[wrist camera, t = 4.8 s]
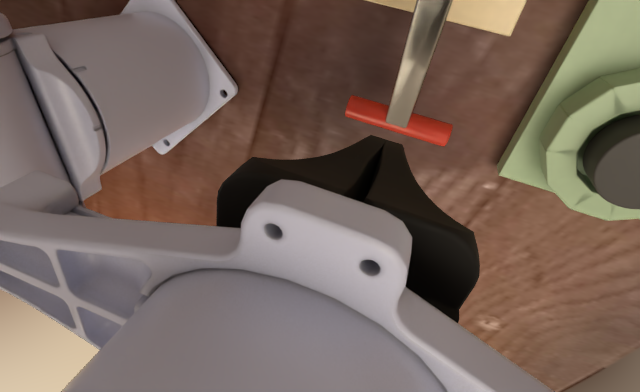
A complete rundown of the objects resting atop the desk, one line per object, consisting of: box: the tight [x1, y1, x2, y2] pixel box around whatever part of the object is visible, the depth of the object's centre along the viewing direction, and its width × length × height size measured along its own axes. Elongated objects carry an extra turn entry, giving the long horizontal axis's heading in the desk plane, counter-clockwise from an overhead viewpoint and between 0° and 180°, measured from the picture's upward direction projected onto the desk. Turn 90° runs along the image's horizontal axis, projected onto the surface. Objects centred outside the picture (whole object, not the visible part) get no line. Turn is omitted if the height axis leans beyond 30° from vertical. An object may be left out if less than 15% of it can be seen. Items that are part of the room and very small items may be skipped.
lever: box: [345, 0, 453, 147], centre depth 12 cm, size 12×5×2 cm, turn 168°
